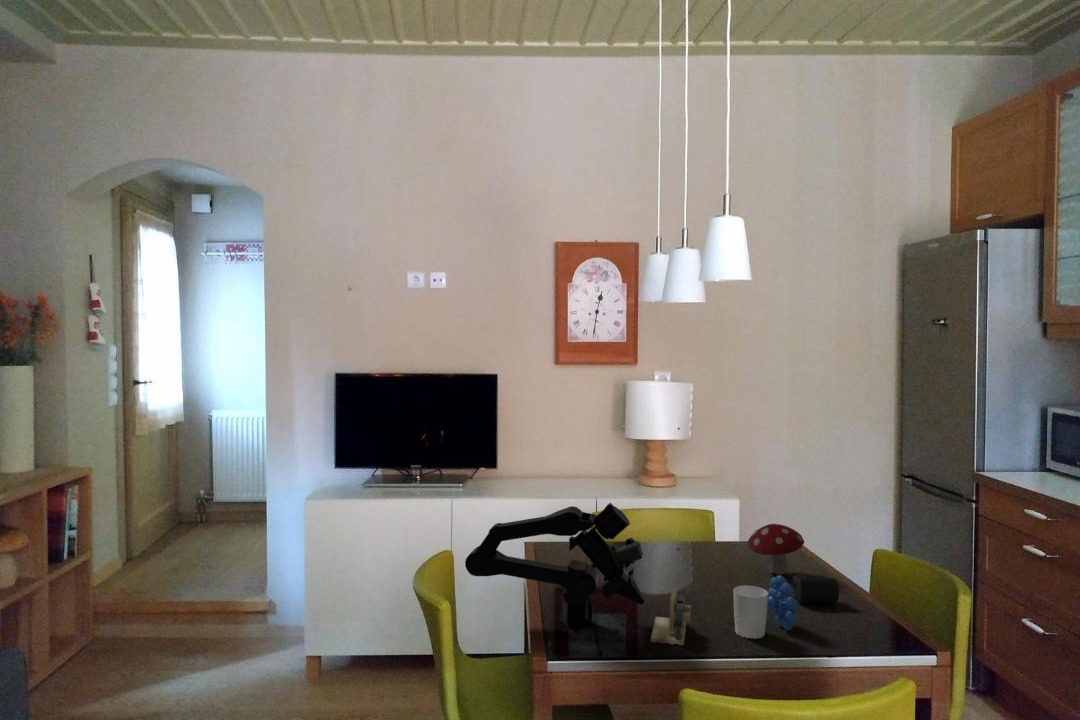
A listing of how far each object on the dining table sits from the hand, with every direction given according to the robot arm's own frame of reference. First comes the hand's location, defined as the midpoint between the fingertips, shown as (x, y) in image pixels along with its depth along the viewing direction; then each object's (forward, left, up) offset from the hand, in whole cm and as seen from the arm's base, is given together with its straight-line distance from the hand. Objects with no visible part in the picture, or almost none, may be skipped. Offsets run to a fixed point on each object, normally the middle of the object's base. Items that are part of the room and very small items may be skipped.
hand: (643, 602), depth 173 cm
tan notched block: (+7, -5, -5) cm, 10 cm away
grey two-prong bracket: (+7, -5, -6) cm, 11 cm away
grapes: (+32, -9, -7) cm, 34 cm away
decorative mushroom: (+57, +23, -7) cm, 62 cm away
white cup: (+23, -10, -7) cm, 26 cm away
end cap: (+52, +1, -7) cm, 52 cm away
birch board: (+5, -3, -6) cm, 9 cm away
